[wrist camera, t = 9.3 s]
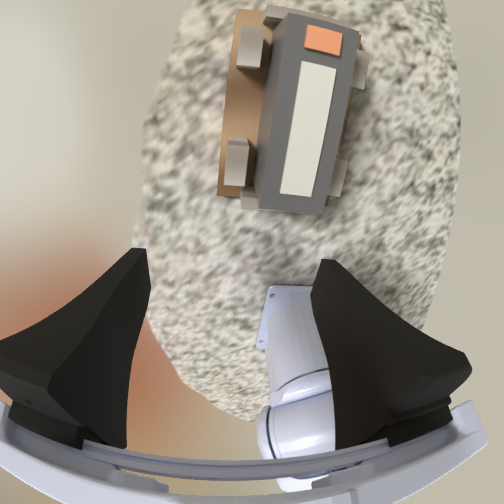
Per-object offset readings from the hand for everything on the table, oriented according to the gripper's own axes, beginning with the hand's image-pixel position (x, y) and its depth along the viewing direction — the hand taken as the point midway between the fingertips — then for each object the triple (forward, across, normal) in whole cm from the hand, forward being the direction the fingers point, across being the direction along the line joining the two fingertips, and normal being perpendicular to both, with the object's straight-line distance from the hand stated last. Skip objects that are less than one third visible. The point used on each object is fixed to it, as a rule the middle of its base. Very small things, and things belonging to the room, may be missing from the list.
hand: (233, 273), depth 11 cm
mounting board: (+10, -3, -6) cm, 12 cm away
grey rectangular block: (+9, -3, -6) cm, 11 cm away
